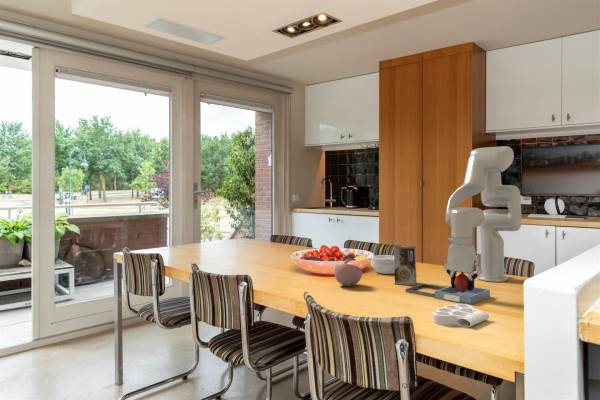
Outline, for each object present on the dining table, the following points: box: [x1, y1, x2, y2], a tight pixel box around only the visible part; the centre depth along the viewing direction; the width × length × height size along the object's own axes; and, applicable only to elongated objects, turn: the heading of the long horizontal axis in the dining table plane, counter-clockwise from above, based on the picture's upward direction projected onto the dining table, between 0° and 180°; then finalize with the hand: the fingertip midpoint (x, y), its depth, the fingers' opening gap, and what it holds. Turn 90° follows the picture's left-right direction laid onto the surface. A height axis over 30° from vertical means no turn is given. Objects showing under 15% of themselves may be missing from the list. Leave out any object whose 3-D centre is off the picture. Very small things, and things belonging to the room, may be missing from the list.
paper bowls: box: [370, 254, 395, 275], centre depth 220 cm, size 15×15×8 cm
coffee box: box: [393, 245, 417, 286], centre depth 194 cm, size 9×6×16 cm
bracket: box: [405, 283, 446, 298], centre depth 178 cm, size 14×13×1 cm
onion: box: [454, 272, 469, 293], centre depth 167 cm, size 6×6×8 cm
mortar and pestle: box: [333, 258, 363, 287], centre depth 191 cm, size 12×12×11 cm
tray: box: [434, 285, 491, 306], centre depth 167 cm, size 16×14×3 cm
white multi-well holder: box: [432, 303, 490, 329], centre depth 140 cm, size 3×18×15 cm
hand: (462, 288), depth 167 cm, fingers closed on onion, 5 cm apart
